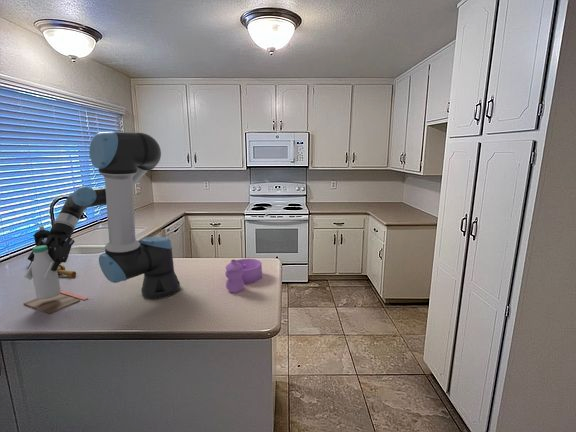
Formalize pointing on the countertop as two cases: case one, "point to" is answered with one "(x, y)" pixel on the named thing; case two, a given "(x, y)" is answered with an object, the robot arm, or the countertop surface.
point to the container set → (242, 273)
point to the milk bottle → (39, 269)
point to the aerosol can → (44, 234)
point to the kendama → (65, 271)
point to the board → (52, 303)
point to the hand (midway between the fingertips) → (37, 278)
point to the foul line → (73, 295)
